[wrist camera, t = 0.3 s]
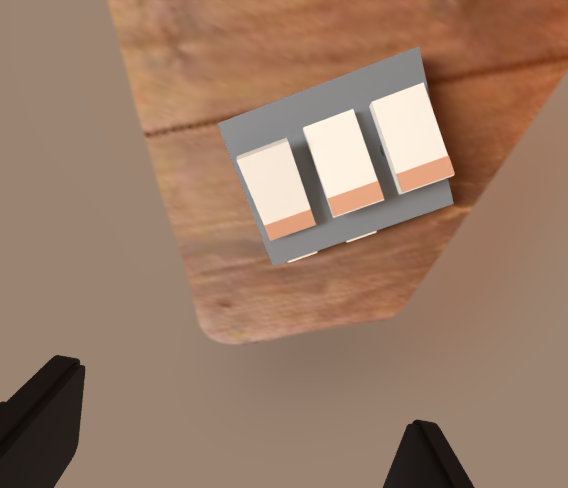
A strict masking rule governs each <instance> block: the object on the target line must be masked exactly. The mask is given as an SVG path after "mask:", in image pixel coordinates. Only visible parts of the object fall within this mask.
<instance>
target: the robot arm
mask: <svg viewBox="0 0 568 488" xmlns="http://www.w3.org/2000/svg"><path fill="white" fill-rule="evenodd" d="M84 379H85V366H83V365H80V360H79V359H77V358H71V357H66V356H60V355H56V356H54V357H53V358H52V359H51V360H49V361H48V362H47V363H46V364H45V365H44V366H43V367H42V368H41V369H40V370H39V371H38V372H37V373H36V374H35V375H34V376H33V377H32V378H31V379H30V380H29V381H28V382H27V383H26V384H25V385H23V386H22V387H21V388H20V389H19V390H18V391H17V392H16V393H15V394H14V395H13V396H12V397H11V398H10V399H9V400H8V401H7V402H0V488H54V486H55V485H56V483H57V482H58V480H59V479H60V477H61V475H62V474H63V472H64V471H65V469H66V468H67V466H68V465H69V463H70V461H71V460H72V458H73V456H74V454H75V452H76V449H77V446H78V440H79V430H80V419H81V410H82V399H83V389H84ZM383 488H474V486H473V484H472V482H471V481H470V479H469V477H468V476H467V474H466V472H465V470H464V469H463V467H462V465H461V464H460V462H459V460H458V458H457V457H456V455H455V453H454V452H453V450H452V448H451V447H450V445H449V443H448V442H447V440H446V438H445V436H444V435H443V433H442V431H441V429H440V428H439V426H438V425H437V424H436V423H433V422H428V421H422V420H415V421H414V422H413V423H412V424H408V425H407V427H406V430H405V432H404V435H403V438H402V440H401V443H400V445H399V448H398V450H397V453H396V455H395V458H394V460H393V463H392V465H391V468H390V470H389V473H388V475H387V478H386V481H385V483H384V486H383Z"/></svg>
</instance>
